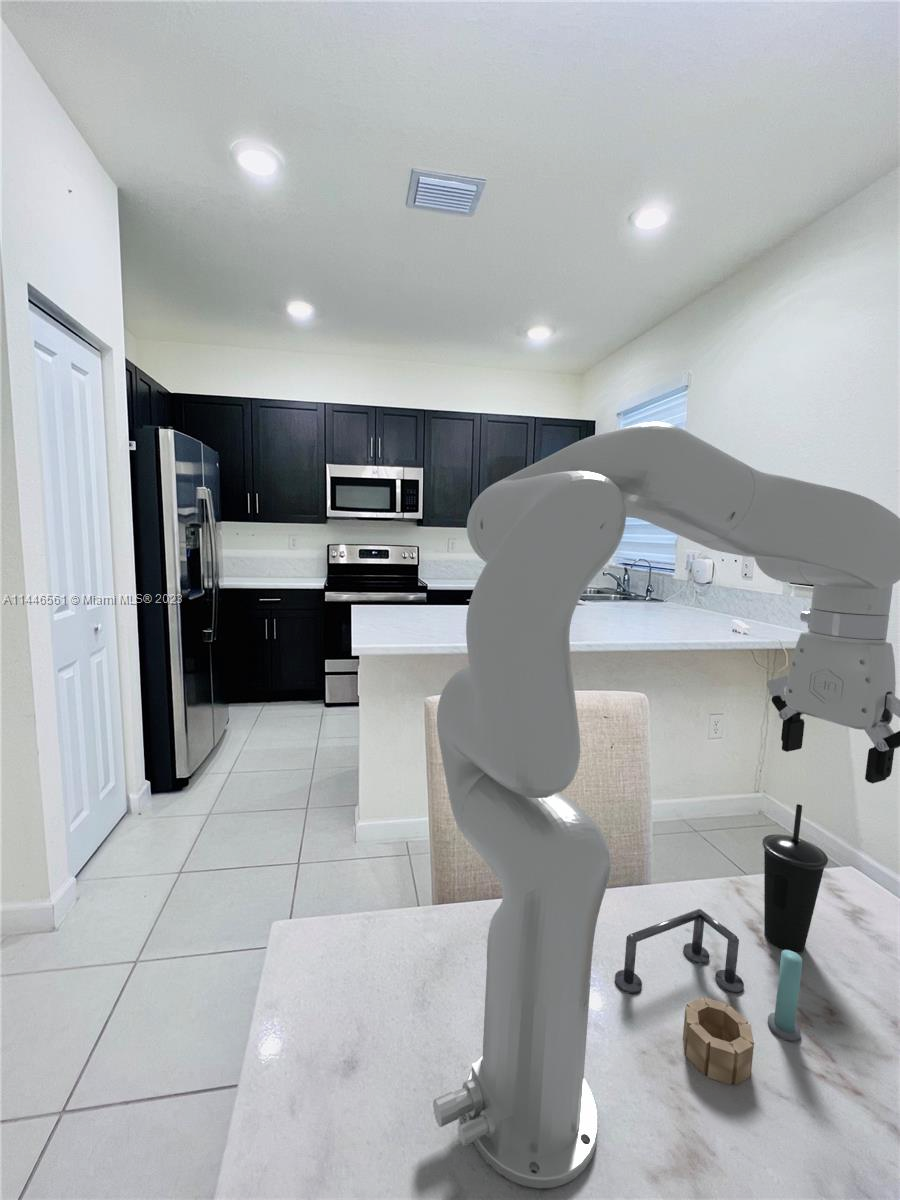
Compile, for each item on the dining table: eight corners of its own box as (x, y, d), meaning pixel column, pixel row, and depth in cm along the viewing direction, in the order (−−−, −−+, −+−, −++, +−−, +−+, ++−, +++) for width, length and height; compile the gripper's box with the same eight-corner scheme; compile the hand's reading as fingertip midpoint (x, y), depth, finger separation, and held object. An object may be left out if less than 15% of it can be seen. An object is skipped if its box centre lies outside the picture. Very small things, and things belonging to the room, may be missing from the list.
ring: (721, 1093, 54) (724, 1061, 53) (670, 1039, 60) (673, 1010, 59) (763, 1069, 57) (766, 1038, 56) (710, 1019, 62) (713, 991, 62)
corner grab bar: (659, 1031, 60) (664, 979, 60) (609, 977, 68) (612, 929, 67) (749, 988, 67) (754, 940, 66) (694, 943, 74) (698, 899, 74)
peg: (788, 1046, 59) (797, 971, 58) (761, 1022, 62) (769, 950, 61) (806, 1035, 61) (815, 962, 60) (779, 1012, 64) (786, 942, 63)
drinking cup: (827, 966, 71) (845, 823, 69) (764, 955, 72) (779, 815, 70) (802, 926, 78) (817, 796, 76) (745, 917, 80) (758, 789, 78)
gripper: (758, 617, 70) (745, 743, 72) (918, 641, 55) (897, 801, 56) (794, 615, 73) (781, 736, 75) (954, 637, 58) (933, 789, 60)
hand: (830, 764), depth 66 cm, fingers open, 9 cm apart
